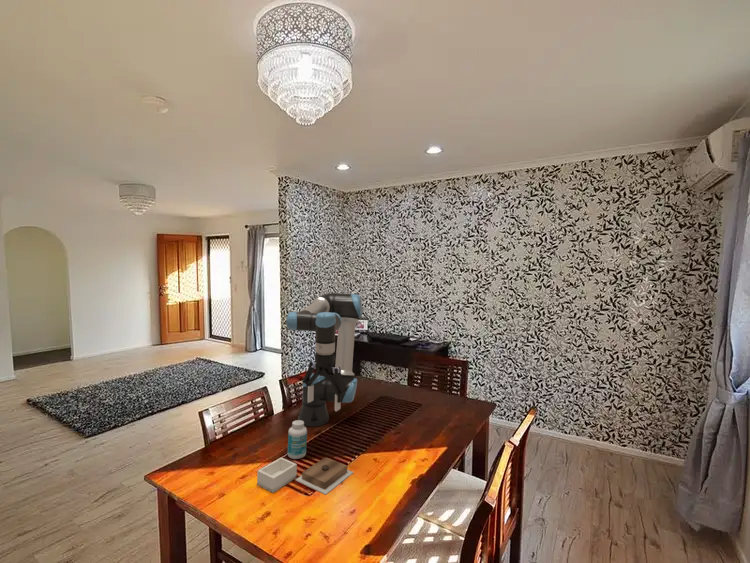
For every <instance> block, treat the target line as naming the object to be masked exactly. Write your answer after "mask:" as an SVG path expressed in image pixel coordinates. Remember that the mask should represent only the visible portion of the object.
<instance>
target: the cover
mask: <svg viewBox="0 0 750 563" xmlns="http://www.w3.org/2000/svg"><path fill="white" fill-rule="evenodd" d="M347 470H348V465H346V464H344V463H342V462H339V461H336V460H334V459H332V458H328V457H326V456H325V457H324V458H322V459H320V460H318V461H317V462H316V463H314V464H313V465H311V466H310V467H308V468H307V469H306V470H304V471H302V472H301V476H302V479H303V480H305V481H307V482H309V483H311V484H313V485H316V486H318V487H320V488H322V489H324V490H325V489H326V488H327V487H329V486H330V485H331V484H333V483H334V482H335V481H336V480H338V479H339V478H340V477H342V476H343V475H344V474H346V473H347Z"/></svg>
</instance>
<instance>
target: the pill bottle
mask: <svg viewBox="0 0 750 563" xmlns="http://www.w3.org/2000/svg"><path fill="white" fill-rule="evenodd" d="M287 434H288V435H287V437H288V438H287V457H289V458H290V459H292V460H299V459H300V460H301V459H302V458H304V457H305V456H306V455H307V443H308V440H307V439H308V437H307V436H308V428H307V426H304V422H303V421H301V420H298V419H297V420H294V421H292V423H291V427H289V428H288V433H287Z"/></svg>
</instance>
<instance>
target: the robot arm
mask: <svg viewBox="0 0 750 563" xmlns="http://www.w3.org/2000/svg"><path fill="white" fill-rule="evenodd" d="M362 303H363V302H362V298H361V296H360V294H355V293H338V292H337V293H335V292H333V293H332V292H331V293H326V294H322V295H319V296H317V297H316V298H314V299H313V300H312V301H311V303H310V304H309V305H307V306H306V307H304V308H302V310H300V311H290V312H289V313H288V314H287V316H286V322H285V324H286V328H287V330H290V331H298V332H299V331H301V332H302V331H303V332H315V343H314V344H315V346H314V348H315V349H314V350H315V354H314V361H313V360H312V361H310V362H309V363H308V369H307V370H306V373H305V375H304V377H303V379H302V400H301V401H302V403H301V407H300V410H299V414H298V416H297V417H298V418H297V420H301V421H303V422H304V427H319V426H323V425H326V424H327V423H328V422H329V420H330V415H329V412H328V408H327V402H332V403H333V402H334V411H335V412H339V411H340V410H341V405H342V404H344V403H347V404H349V403H350V404H351V403H352V402H353V401H354V399H355V397H356V393H357V392H356V391H357V387H358V378H355V373H354V372H353V362H354V361H353V360H354V349H355V348H354V347H355V336H356V335H355V334H356V324H357V323H358V322H359V320H360V318H361V317H363V304H362ZM336 332H337V341H336ZM335 350H336V351H335ZM334 364H335V365H334ZM315 369H316V370H315ZM314 370H315V371H314ZM341 403H342V404H341Z"/></svg>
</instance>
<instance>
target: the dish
mask: <svg viewBox="0 0 750 563" xmlns="http://www.w3.org/2000/svg"><path fill="white" fill-rule="evenodd" d="M297 468H298V464H297V463H295V462H293V461H290V460H289V459H287V458H285V457H284V458H283V457H282V456H281V457H279V458H277V459H276V460H273V461H272V462H270V463H269V464H267V465H265V466H263V467H262V468H260V469H257V477H256V478H257V479H256V480H257V482H256V485H257V486H258V487H260V488H262V489H264V490H266V491H269V493H272V494H274V493H275V492H277V491H279V489H282V488H283V487H285V486H286V485H288V484H289V483H290V482H292V481H293V480H296V479H297V473H298V471H297V470H298V469H297Z"/></svg>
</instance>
